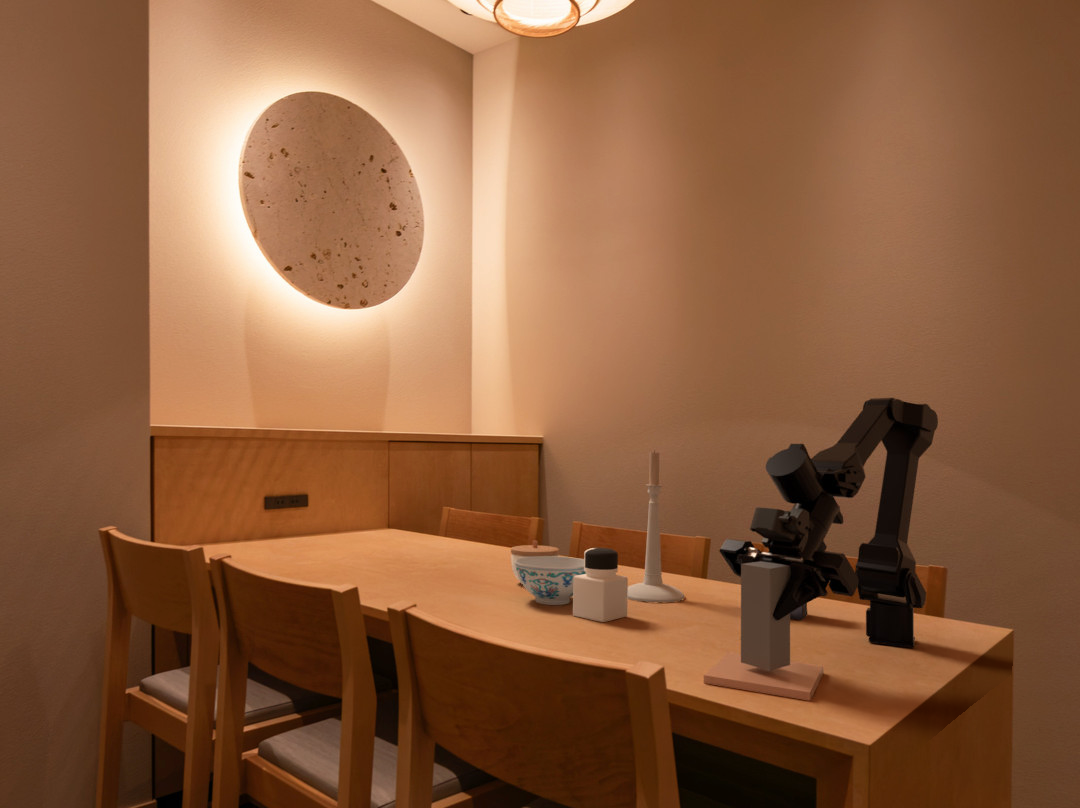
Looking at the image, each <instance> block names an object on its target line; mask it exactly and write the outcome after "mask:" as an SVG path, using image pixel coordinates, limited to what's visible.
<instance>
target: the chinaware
mask: <svg viewBox="0 0 1080 808" xmlns="http://www.w3.org/2000/svg"><path fill="white" fill-rule="evenodd" d="M515 565H516V570H517V574H518V577H519V579H520V581H521V583H522V584H523V585H522V584H521V585H522V586H523V588H525V589H526V591H527V592H528V593H530V595H532V596H533V597H535V599H534V600H535V602H536V603H537V604H541V605H548V606H562V605H567V604H569V603H570V602H571V599H570V598H573V579H574V576H577V575H582V574H586V572H585V571H584V558H579V557H570V556H536V557H525V558H520V559H517V560H516V561H515ZM520 581H519V582H520Z"/></svg>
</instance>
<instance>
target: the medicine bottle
mask: <svg viewBox="0 0 1080 808" xmlns="http://www.w3.org/2000/svg"><path fill="white" fill-rule="evenodd" d="M583 555H584V557H583V559H584V571H585V572H586V574H582V575H577V576H574V579H573V596H572V615H573V617H576V618H582V619H586V620H590V621H596V622H600V623H605V622H609V621H614V620H618V619H622V618H626V617H628V599H627V595H628V586H629V584H628V582H629V579H628V577H627V576H625V575H619V574H617V573H618V572H619V571H618V569H619V562H618V561H619V560H618V559H619V553H618V552H617V551H616V550H615V549H613V548H612V549H611V548H609V547H608V548H607V547H592V548H589V549H588V548H587V549H586V550H585V551H584V553H583Z"/></svg>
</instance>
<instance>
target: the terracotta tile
mask: <svg viewBox="0 0 1080 808" xmlns="http://www.w3.org/2000/svg"><path fill="white" fill-rule="evenodd" d="M823 675H824V665H820V664H812V663H806V662H799V661H791V660H790V665H788V666H785V667H781V668H778V669H774V670H771V671H769V670H765V669H762V668H758V667H755V666H751V665H748V664H745V663H741V653H737V652H731V651H727V652H726V653H725V654H724V655H723V656H721V658H720V659H719V660H718V661H717V662H716V663H715V664H714V665H712V666H711V667H710V668H709V669H708V670H707V671H706V672H705V673H704V674H703V684H708V685H713V686H719V687H725V688H731V689H738V690H742V691H750V692H755V693H760V694H767V695H772V696H779V697H785V698H791V699H797V700H802V701H807V702H808V701H811V699H812V697H813V695H814V693H815V691H816V689H817V687H818V686H819V683H820V682H821V679H822V677H823Z"/></svg>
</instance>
